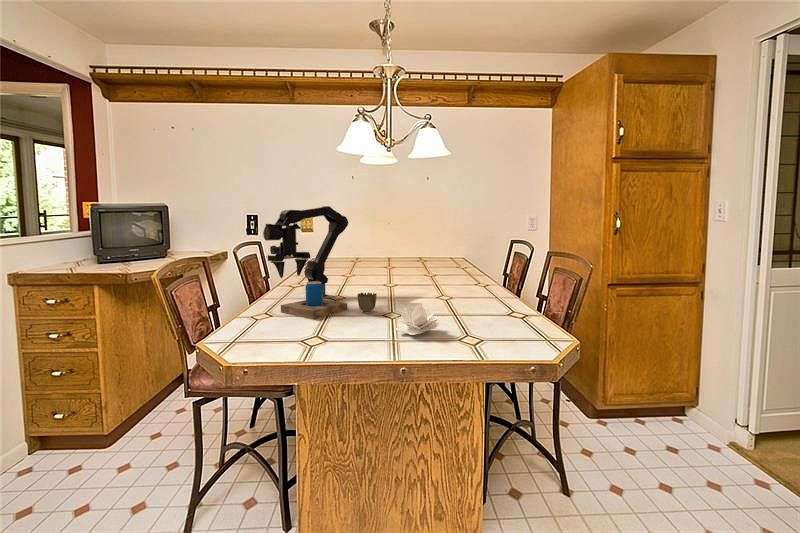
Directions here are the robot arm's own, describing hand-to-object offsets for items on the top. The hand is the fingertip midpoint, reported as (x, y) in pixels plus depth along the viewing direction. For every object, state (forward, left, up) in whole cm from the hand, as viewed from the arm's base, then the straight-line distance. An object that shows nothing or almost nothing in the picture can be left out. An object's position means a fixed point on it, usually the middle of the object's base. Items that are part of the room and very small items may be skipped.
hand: (290, 276), depth 188 cm
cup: (-4, +39, -12) cm, 41 cm away
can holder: (+6, +21, -12) cm, 25 cm away
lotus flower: (+5, +69, -12) cm, 70 cm away
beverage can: (+6, +21, -12) cm, 25 cm away
